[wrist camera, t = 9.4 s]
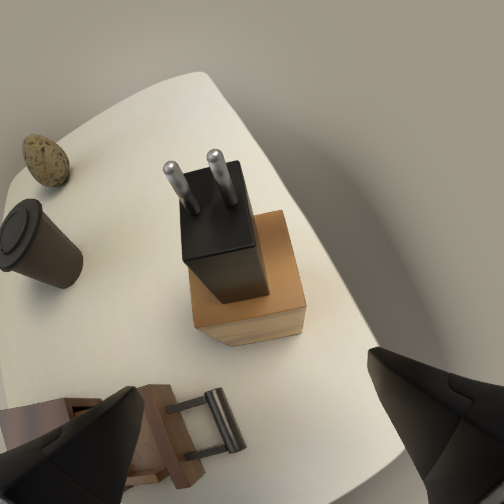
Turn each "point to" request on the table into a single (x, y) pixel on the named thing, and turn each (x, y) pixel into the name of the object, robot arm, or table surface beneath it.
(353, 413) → the table surface
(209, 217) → the black wall charger
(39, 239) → the coffee cup
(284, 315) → the pedestal
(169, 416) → the drawer
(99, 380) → the table surface
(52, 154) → the decorative egg
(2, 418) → the cabinet
